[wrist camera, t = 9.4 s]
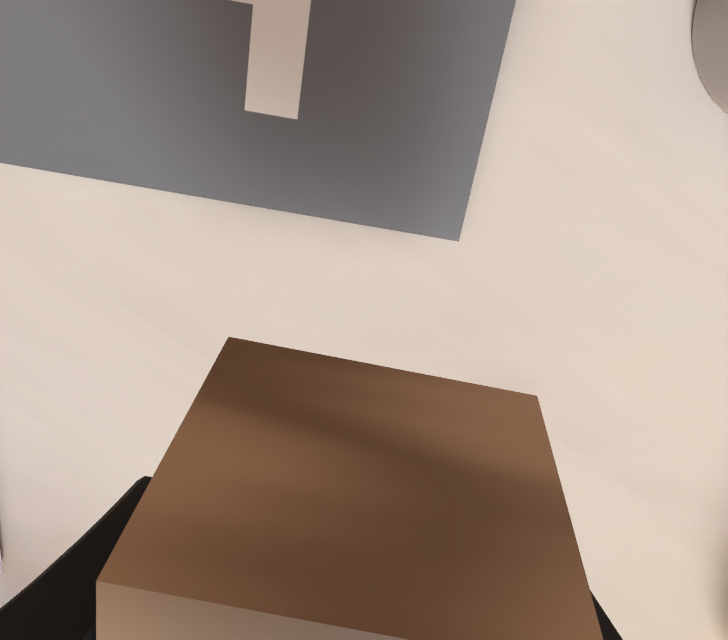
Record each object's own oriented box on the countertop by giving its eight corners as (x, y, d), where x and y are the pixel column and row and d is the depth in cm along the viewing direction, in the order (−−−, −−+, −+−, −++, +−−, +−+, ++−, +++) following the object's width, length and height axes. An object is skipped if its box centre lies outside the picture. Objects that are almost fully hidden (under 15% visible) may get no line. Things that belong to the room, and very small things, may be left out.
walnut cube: (205, 564, 13) (95, 861, 9) (228, 337, 11) (96, 581, 7) (462, 612, 13) (482, 933, 9) (537, 395, 11) (614, 678, 7)
